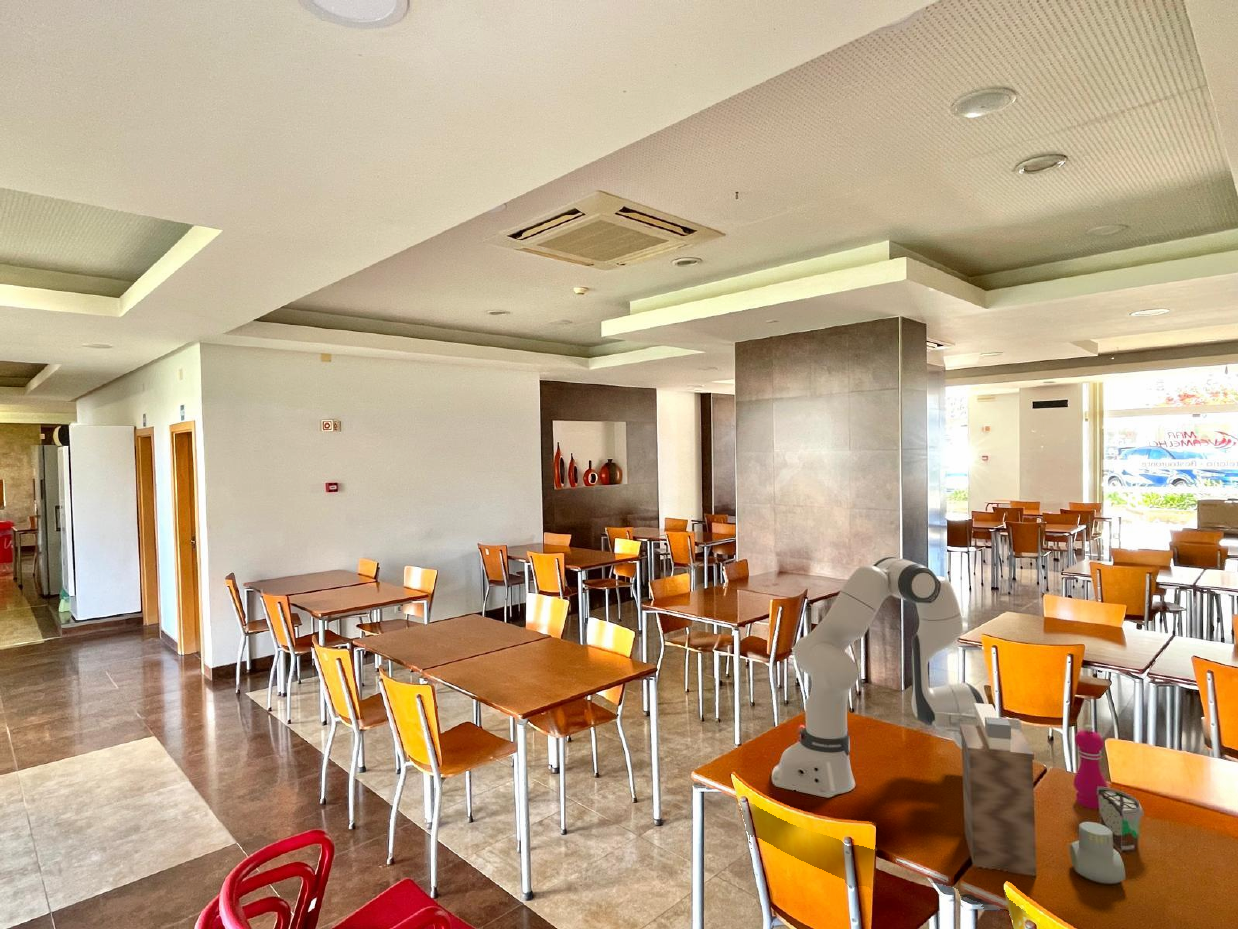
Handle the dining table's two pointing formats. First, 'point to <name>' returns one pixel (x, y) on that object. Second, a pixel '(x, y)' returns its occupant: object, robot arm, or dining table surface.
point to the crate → (999, 802)
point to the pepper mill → (1089, 768)
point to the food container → (1120, 817)
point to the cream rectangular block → (993, 727)
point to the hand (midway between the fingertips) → (980, 718)
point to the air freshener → (1096, 854)
